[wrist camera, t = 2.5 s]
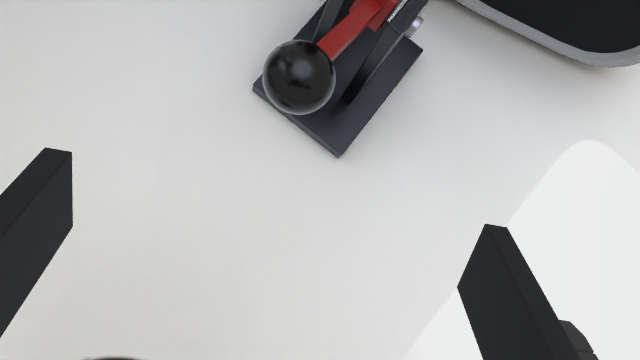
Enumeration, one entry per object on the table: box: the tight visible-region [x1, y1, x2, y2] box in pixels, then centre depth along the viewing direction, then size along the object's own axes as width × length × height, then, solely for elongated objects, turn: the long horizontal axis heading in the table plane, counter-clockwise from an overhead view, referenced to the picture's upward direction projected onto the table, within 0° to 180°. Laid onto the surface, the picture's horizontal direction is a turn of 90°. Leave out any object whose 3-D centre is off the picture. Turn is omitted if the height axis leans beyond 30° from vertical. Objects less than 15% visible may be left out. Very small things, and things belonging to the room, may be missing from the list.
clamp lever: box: [262, 0, 402, 115], centre depth 30 cm, size 14×4×4 cm, turn 143°
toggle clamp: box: [252, 0, 430, 158], centre depth 39 cm, size 12×9×14 cm
